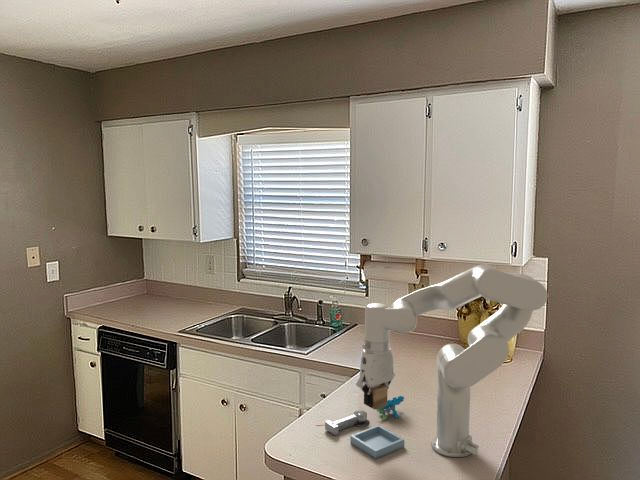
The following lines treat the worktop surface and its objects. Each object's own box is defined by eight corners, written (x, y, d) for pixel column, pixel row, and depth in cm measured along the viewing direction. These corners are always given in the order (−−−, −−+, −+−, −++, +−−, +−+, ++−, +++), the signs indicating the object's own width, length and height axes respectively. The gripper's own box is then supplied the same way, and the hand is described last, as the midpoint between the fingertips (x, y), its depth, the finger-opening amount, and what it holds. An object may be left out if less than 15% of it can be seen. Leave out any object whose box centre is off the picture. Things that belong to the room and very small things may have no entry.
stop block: (387, 405, 158) (387, 386, 158) (374, 409, 155) (375, 390, 155) (376, 399, 162) (376, 381, 162) (363, 403, 159) (364, 384, 159)
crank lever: (360, 416, 179) (360, 409, 178) (370, 421, 175) (370, 414, 174) (325, 429, 170) (324, 421, 170) (334, 435, 166) (334, 427, 166)
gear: (397, 402, 187) (406, 391, 179) (405, 417, 184) (414, 407, 176) (370, 411, 183) (378, 401, 175) (377, 428, 180) (386, 417, 172)
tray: (404, 447, 159) (404, 439, 159) (375, 459, 152) (375, 451, 152) (378, 432, 169) (378, 424, 168) (350, 443, 162) (350, 435, 162)
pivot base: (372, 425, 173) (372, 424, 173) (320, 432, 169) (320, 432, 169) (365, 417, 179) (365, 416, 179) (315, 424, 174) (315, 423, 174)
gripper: (363, 354, 149) (361, 415, 151) (406, 343, 159) (404, 400, 161) (346, 346, 155) (345, 405, 157) (389, 337, 165) (387, 392, 167)
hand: (375, 402), depth 159 cm, fingers closed on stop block, 5 cm apart
